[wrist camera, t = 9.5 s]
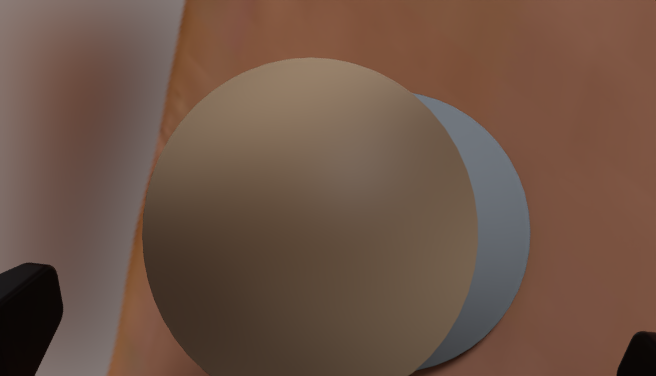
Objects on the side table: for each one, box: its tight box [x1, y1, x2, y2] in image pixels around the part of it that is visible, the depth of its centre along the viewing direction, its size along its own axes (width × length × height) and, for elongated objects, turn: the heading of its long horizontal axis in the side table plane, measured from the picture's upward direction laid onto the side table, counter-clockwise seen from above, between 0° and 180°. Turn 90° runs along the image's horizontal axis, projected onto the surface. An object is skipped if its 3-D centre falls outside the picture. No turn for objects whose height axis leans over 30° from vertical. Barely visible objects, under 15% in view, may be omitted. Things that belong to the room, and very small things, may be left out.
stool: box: [142, 58, 478, 376], centre depth 16 cm, size 7×7×11 cm
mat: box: [412, 93, 530, 370], centre depth 21 cm, size 11×11×1 cm
